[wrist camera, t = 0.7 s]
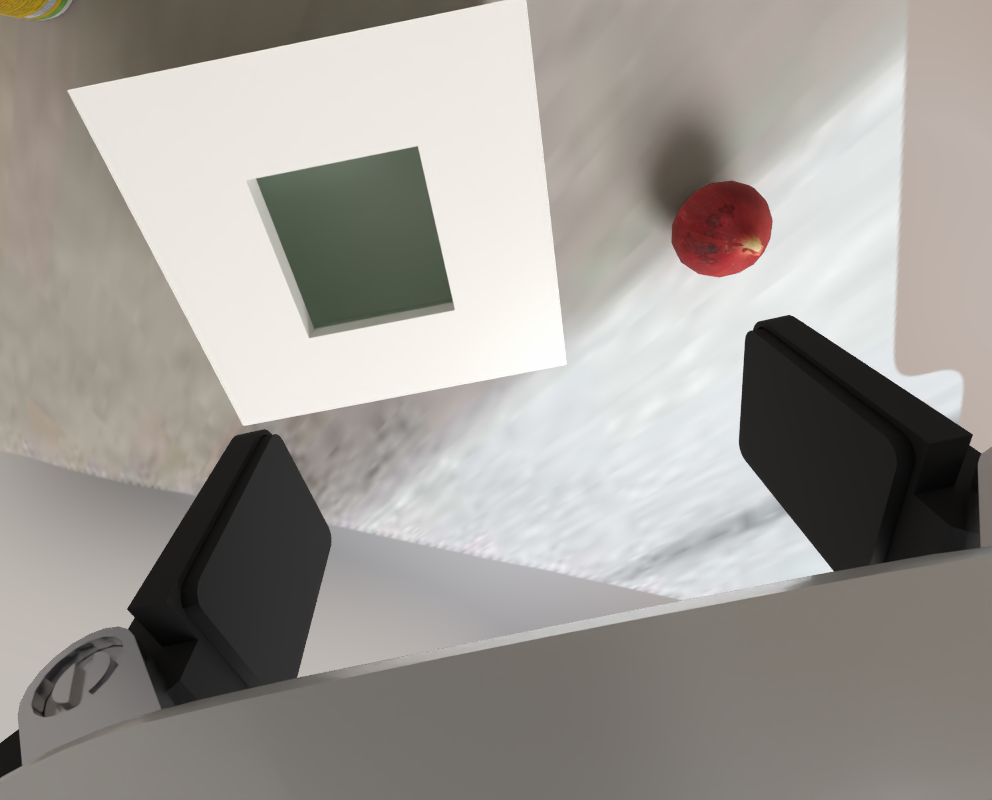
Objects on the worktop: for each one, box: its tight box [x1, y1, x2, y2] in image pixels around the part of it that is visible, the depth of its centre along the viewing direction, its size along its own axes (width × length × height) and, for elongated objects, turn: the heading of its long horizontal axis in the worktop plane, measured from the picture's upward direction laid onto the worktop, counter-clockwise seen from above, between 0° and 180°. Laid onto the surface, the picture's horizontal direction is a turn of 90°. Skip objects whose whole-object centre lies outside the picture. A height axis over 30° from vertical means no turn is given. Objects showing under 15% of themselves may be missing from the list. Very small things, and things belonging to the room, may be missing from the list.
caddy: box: [67, 0, 567, 426], centre depth 29 cm, size 16×18×12 cm
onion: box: [672, 181, 772, 277], centre depth 33 cm, size 6×6×8 cm
